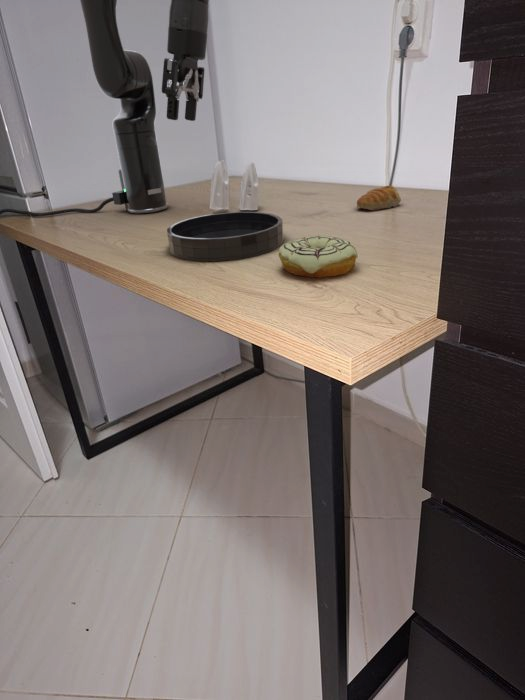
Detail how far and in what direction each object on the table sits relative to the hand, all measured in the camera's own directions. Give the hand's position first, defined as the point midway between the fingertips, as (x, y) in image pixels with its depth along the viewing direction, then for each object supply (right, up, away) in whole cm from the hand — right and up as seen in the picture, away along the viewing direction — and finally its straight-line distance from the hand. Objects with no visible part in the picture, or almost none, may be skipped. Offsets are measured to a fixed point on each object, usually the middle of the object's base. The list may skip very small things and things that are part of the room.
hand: (181, 120), depth 103 cm
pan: (+11, -30, -18) cm, 36 cm away
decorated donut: (+25, -37, -33) cm, 55 cm away
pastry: (+41, -18, 0) cm, 45 cm away
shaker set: (+11, -18, +6) cm, 22 cm away
